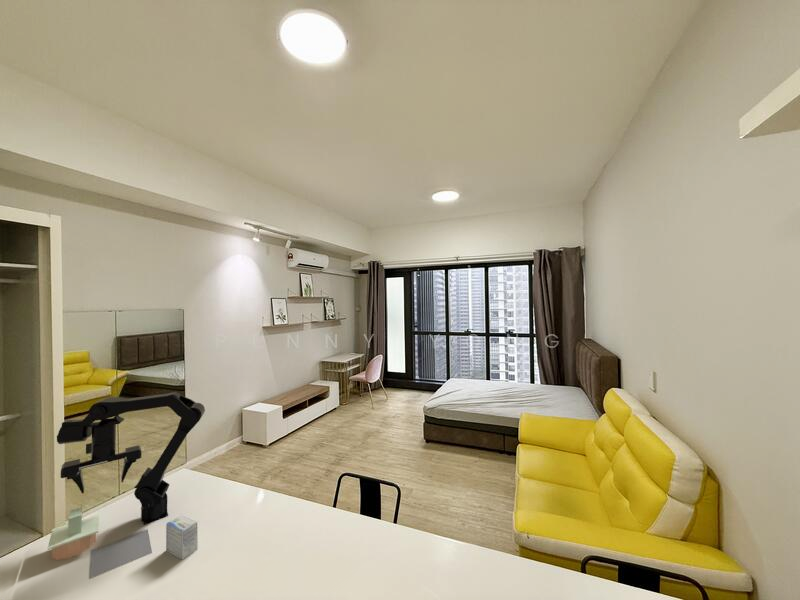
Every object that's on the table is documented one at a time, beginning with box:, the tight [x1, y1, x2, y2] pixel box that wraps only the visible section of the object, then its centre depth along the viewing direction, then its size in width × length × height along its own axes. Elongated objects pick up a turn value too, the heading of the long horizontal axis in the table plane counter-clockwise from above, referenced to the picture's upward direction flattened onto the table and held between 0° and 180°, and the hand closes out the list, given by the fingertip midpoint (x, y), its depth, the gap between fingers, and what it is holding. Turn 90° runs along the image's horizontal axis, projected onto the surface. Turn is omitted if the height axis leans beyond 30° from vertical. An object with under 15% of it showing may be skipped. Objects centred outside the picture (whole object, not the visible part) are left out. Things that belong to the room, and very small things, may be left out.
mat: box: [88, 528, 153, 580], centre depth 92 cm, size 13×13×1 cm
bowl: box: [51, 533, 97, 561], centre depth 94 cm, size 9×9×5 cm
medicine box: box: [165, 514, 199, 560], centre depth 93 cm, size 8×4×9 cm, turn 65°
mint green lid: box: [47, 506, 100, 551], centre depth 94 cm, size 10×10×6 cm
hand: (103, 487), depth 103 cm, fingers open, 9 cm apart
